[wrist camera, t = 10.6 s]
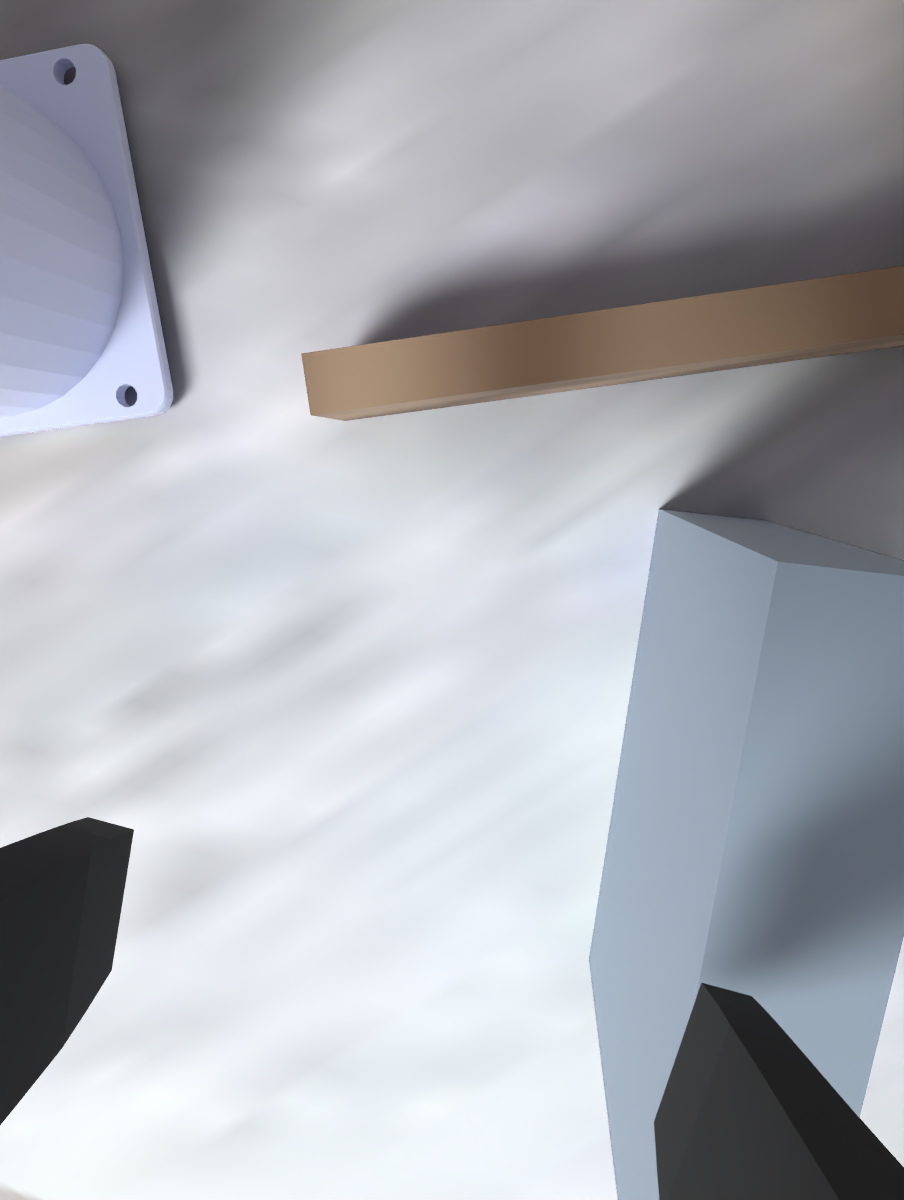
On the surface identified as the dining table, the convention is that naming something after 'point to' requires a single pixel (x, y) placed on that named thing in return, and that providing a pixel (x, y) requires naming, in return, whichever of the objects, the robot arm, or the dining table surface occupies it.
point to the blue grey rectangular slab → (752, 810)
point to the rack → (610, 346)
